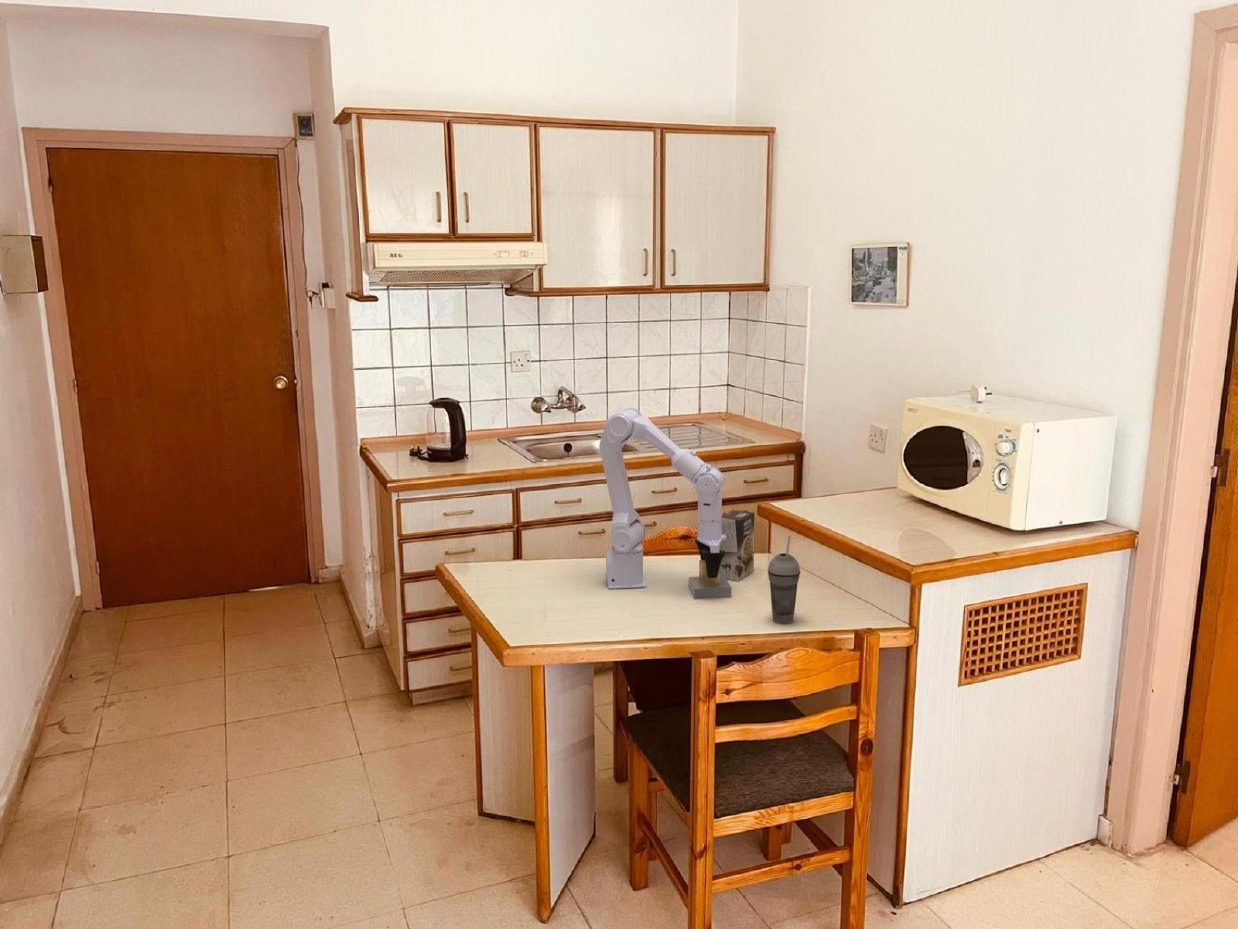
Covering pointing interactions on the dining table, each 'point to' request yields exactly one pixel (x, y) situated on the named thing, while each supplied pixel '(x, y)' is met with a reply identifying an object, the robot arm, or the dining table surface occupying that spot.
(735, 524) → the coffee box
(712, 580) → the oak block
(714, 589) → the slate base
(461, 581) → the dining table surface
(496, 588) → the dining table surface
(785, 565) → the beverage cup
